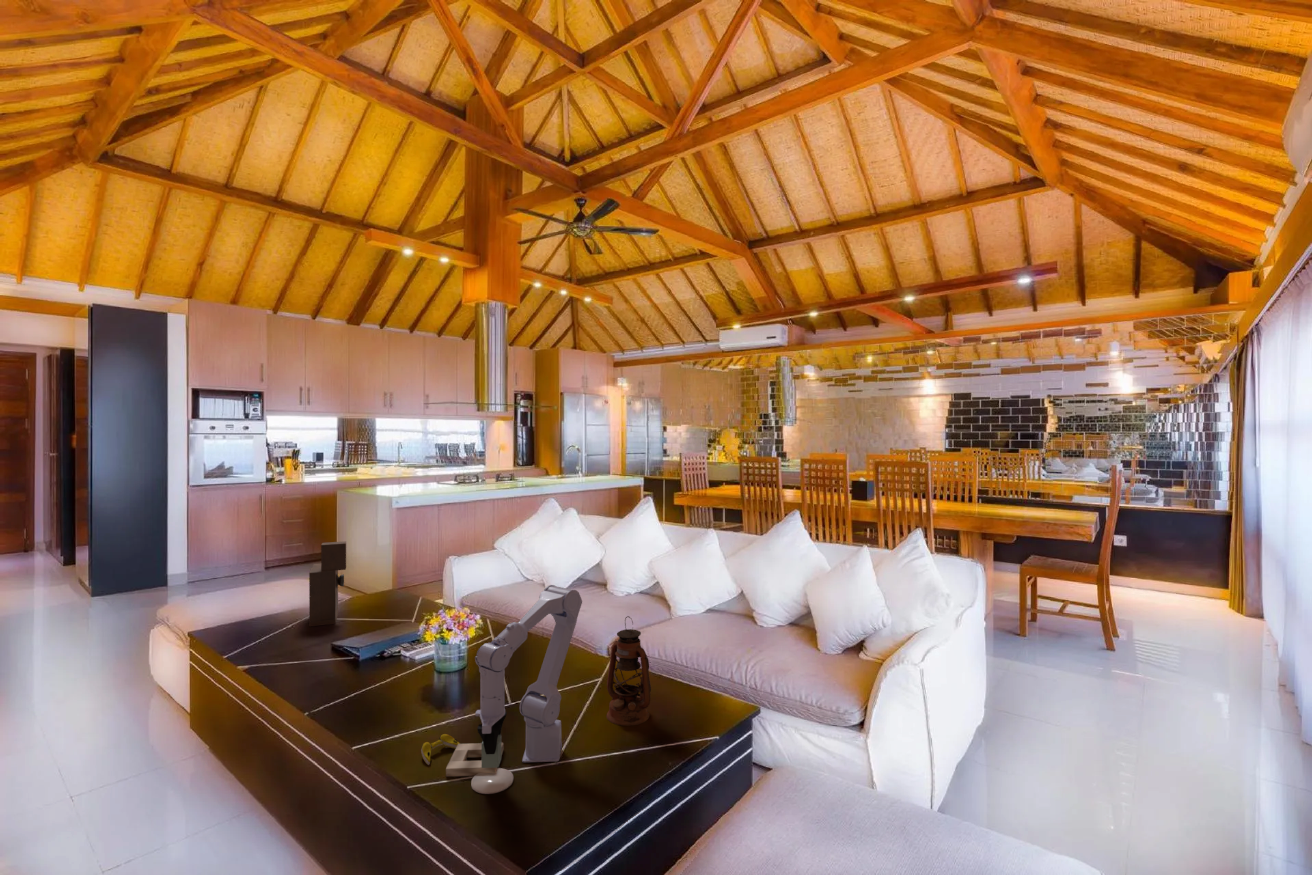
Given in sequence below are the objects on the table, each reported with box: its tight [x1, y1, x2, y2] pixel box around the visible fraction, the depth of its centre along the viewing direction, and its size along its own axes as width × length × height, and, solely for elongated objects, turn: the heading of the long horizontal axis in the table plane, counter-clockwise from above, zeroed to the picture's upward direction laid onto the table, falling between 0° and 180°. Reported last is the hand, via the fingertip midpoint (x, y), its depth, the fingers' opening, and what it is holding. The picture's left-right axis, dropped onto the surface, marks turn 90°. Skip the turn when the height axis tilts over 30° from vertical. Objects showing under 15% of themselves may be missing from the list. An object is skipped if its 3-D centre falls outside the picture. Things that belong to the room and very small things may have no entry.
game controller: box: [420, 733, 461, 766], centre depth 164 cm, size 10×6×4 cm, turn 144°
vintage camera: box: [308, 541, 347, 627], centre depth 279 cm, size 19×14×35 cm
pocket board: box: [445, 742, 504, 777], centre depth 160 cm, size 12×12×2 cm
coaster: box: [470, 767, 514, 795], centre depth 151 cm, size 10×10×1 cm
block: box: [481, 734, 502, 768], centre depth 151 cm, size 4×4×6 cm
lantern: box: [606, 615, 652, 727], centre depth 186 cm, size 17×13×30 cm
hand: (492, 748), depth 151 cm, fingers closed on block, 4 cm apart
